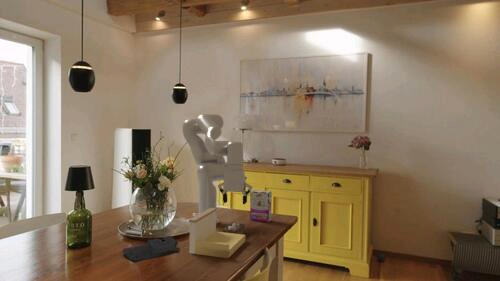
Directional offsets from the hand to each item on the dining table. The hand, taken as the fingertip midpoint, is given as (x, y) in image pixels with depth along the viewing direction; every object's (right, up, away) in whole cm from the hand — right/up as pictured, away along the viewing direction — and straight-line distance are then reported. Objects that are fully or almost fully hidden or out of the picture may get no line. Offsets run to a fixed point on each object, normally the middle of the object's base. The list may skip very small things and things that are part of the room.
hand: (234, 203), depth 171 cm
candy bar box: (+13, -15, +28) cm, 34 cm away
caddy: (0, -16, +1) cm, 16 cm away
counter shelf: (-7, -16, -16) cm, 24 cm away
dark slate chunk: (-34, -17, -23) cm, 44 cm away
